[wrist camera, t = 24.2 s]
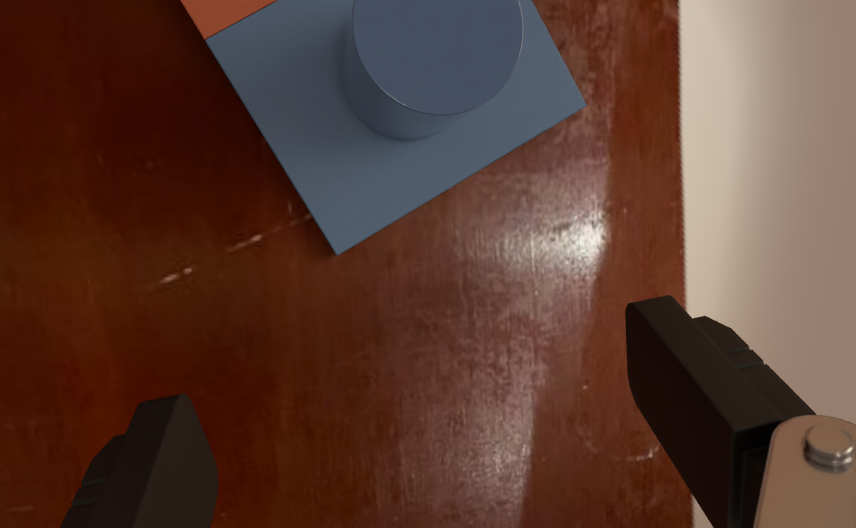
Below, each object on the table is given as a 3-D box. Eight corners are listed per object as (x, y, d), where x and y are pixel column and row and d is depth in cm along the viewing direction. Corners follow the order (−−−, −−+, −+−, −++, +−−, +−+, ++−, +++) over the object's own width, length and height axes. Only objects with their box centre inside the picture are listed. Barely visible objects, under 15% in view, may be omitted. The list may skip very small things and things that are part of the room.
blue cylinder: (428, -17, 31) (470, -96, 23) (492, 100, 32) (553, 62, 24) (314, 46, 30) (317, -13, 22) (383, 164, 31) (409, 147, 23)
